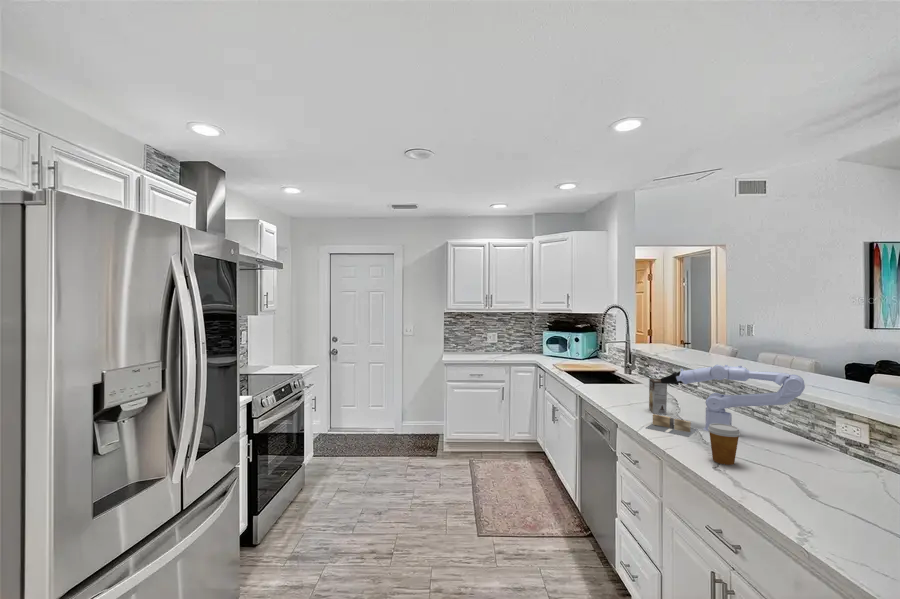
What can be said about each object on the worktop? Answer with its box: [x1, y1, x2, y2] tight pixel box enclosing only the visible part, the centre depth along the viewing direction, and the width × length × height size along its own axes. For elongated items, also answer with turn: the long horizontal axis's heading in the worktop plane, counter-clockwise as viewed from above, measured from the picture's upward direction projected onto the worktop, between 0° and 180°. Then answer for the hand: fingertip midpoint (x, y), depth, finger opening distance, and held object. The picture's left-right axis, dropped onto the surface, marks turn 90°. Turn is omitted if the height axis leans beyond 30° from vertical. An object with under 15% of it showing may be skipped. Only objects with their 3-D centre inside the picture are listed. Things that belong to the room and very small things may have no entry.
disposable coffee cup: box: [708, 423, 741, 466], centre depth 148 cm, size 10×10×12 cm
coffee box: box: [648, 378, 668, 416], centre depth 215 cm, size 9×6×16 cm
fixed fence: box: [674, 418, 692, 432], centre depth 182 cm, size 6×1×4 cm, turn 48°
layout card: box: [645, 422, 699, 438], centre depth 184 cm, size 17×15×1 cm
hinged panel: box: [652, 413, 675, 428], centre depth 187 cm, size 8×2×4 cm, turn 48°
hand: (663, 380), depth 197 cm, fingers open, 7 cm apart
